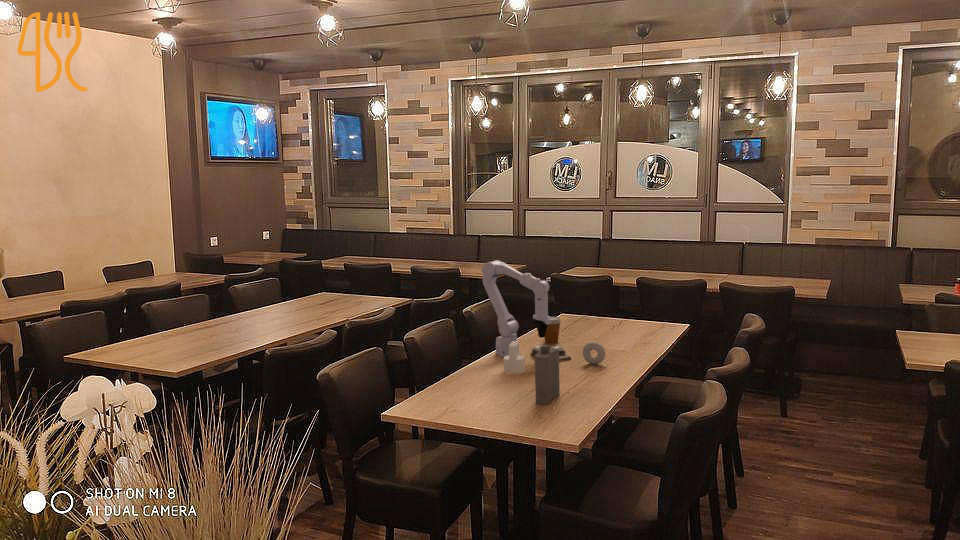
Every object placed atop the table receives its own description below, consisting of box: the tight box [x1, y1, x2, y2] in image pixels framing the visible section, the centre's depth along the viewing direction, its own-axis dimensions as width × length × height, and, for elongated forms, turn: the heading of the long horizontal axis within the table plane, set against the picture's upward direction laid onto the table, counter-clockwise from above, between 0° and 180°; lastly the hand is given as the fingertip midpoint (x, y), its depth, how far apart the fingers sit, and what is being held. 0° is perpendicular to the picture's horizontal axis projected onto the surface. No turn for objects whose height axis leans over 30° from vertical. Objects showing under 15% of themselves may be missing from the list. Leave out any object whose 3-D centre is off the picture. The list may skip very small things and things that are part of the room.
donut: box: [582, 341, 606, 365], centre depth 314 cm, size 10×3×10 cm, turn 67°
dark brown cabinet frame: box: [529, 348, 572, 362], centre depth 328 cm, size 13×15×3 cm
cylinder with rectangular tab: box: [503, 340, 526, 375], centre depth 307 cm, size 9×9×12 cm
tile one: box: [533, 344, 543, 351], centre depth 332 cm, size 4×4×2 cm
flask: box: [534, 344, 561, 406], centre depth 268 cm, size 15×6×20 cm, turn 153°
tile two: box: [550, 345, 564, 351], centre depth 330 cm, size 4×4×2 cm
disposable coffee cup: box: [544, 316, 562, 344], centre depth 358 cm, size 10×10×12 cm
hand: (541, 337), depth 328 cm, fingers closed
